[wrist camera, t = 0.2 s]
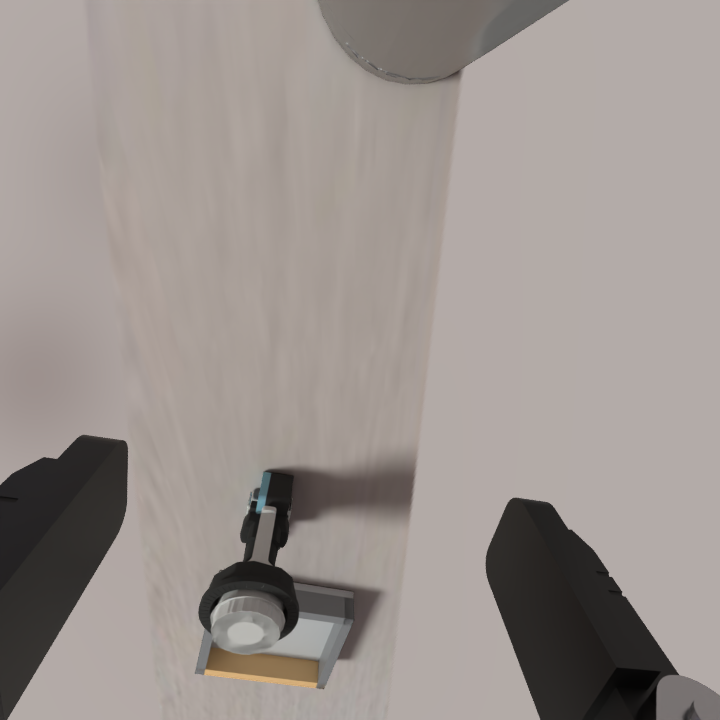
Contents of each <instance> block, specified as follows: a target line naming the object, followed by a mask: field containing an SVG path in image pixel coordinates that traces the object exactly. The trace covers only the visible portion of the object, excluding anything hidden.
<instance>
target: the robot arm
mask: <svg viewBox="0 0 720 720" xmlns="http://www.w3.org/2000/svg"><path fill="white" fill-rule="evenodd" d="M567 1H568V0H318V2H319V5H320V9H321V12H322V15H323V17H324V19H325V21H326V23H327V25H328V27H329V29H330V30H331V32H332V34H333V36H334V38H335V39H336V41H337V42H338V43H339V44H340V46H341V47H342V48H343V49H344V51H345V52H346V53H347V54H348V56H349V57H350V58H352V59H353V60H354V61H355V62H356V63H358V64H359V65H360V66H361V67H363V68H364V69H365V70H366V71H368V72H370V73H372V74H374V75H376V76H378V77H380V78H382V79H384V80H388V81H393V82H397V83H402V84H425V83H429V82H432V81H436V80H439V79H443V78H446V77H448V76H449V75H451V74H453V73H455V72H457V71H458V70H460V69H462V68H464V67H465V66H467V65H468V64H470V63H472V62H473V61H475V60H476V59H478V58H480V57H481V56H483V55H485V54H486V53H488V52H489V51H491V50H493V49H494V48H496V47H497V46H499V45H500V44H502V43H503V42H505V41H507V40H508V39H510V38H511V37H513V36H514V35H516V34H517V33H519V32H520V31H522V30H524V29H525V28H527V27H528V26H530V25H531V24H533V23H534V22H535V21H537V20H539V19H541V18H542V17H544V16H545V15H547V14H548V13H550V12H551V11H553V10H555V9H556V8H557V7H559V6H561V5H562V4H563V3H565V2H567ZM127 470H128V447H127V443H126V442H125V441H123V440H117V439H110V438H103V437H95V436H89V435H82V436H80V437H78V438H77V439H76V440H75V441H74V442H73V443H72V444H71V445H70V446H69V448H67V450H65V451H64V452H63V454H62V455H61V456H60V457H59V458H58V459H53V458H46V457H44V458H42V459H40V460H38V461H36V462H34V463H32V464H30V465H28V466H26V467H24V468H22V469H20V470H18V471H16V472H14V473H13V474H11V475H10V477H8V478H7V479H6V480H5V481H4V482H3V483H2V484H1V485H0V720H7V719H8V717H9V716H10V714H11V712H12V711H13V709H14V707H15V705H16V704H17V702H18V701H19V699H20V697H21V696H22V694H23V692H24V691H25V689H26V687H27V685H28V684H29V682H30V680H31V679H32V677H33V675H34V674H35V672H36V670H37V669H38V667H39V665H40V664H41V662H42V660H43V659H44V657H45V655H46V654H47V652H48V650H49V649H50V647H51V645H52V643H53V642H54V640H55V639H56V637H57V635H58V633H59V632H60V630H61V629H62V627H63V625H64V624H65V622H66V620H67V619H68V617H69V615H70V613H71V612H72V610H73V608H74V607H75V605H76V603H77V602H78V600H79V598H80V597H81V595H82V593H83V592H84V590H85V588H86V587H87V585H88V583H89V582H90V580H91V578H92V577H93V575H94V573H95V572H96V570H97V568H98V566H99V565H100V563H101V561H102V560H103V558H104V557H105V555H106V553H107V551H108V550H109V548H110V546H111V545H112V543H113V541H114V540H115V538H116V536H117V534H118V532H119V530H120V528H121V525H122V523H123V519H124V516H125V512H126V506H127V472H128V471H127ZM486 573H487V578H488V582H489V584H490V587H491V590H492V592H493V595H494V598H495V600H496V603H497V606H498V608H499V611H500V613H501V616H502V619H503V621H504V624H505V627H506V629H507V632H508V634H509V637H510V640H511V643H512V645H513V648H514V651H515V653H516V656H517V659H518V661H519V664H520V667H521V669H522V672H523V675H524V677H525V680H526V683H527V685H528V688H529V691H530V693H531V696H532V698H533V701H534V703H535V706H536V709H537V712H538V714H539V717H540V720H720V696H719V695H718V694H717V693H716V692H714V691H712V690H711V689H710V688H708V687H706V686H705V685H703V684H701V683H699V682H697V681H695V680H693V679H690V678H687V677H684V676H680V675H679V674H678V673H677V671H676V670H675V668H674V667H673V665H672V664H671V662H670V661H669V659H668V658H667V657H666V655H665V654H664V652H663V651H662V649H661V648H660V646H659V645H658V643H657V642H656V641H655V639H654V638H653V636H652V635H651V633H650V632H649V630H648V629H647V627H646V626H645V624H644V623H643V622H642V620H641V619H640V617H639V616H638V614H637V613H636V611H635V610H634V608H633V607H632V605H631V604H630V603H629V602H628V600H627V598H626V597H624V596H622V591H621V590H620V588H619V587H618V585H617V584H616V582H615V581H614V579H613V578H612V577H609V572H608V570H607V569H606V568H605V566H604V565H603V563H602V562H601V560H600V559H599V557H598V556H597V554H596V553H595V552H594V550H593V549H592V548H591V547H590V546H589V545H587V544H586V543H585V542H584V541H583V540H582V539H581V538H580V537H579V536H578V535H577V534H576V533H574V532H573V531H572V530H568V528H567V527H566V525H565V524H564V522H563V521H562V519H561V517H560V516H559V515H558V513H557V511H556V510H555V508H554V507H553V506H552V505H551V504H550V503H548V502H542V501H535V500H528V499H521V498H512V499H511V500H510V501H509V502H508V504H507V506H506V508H505V510H504V513H503V515H502V517H501V520H500V522H499V525H498V527H497V529H496V532H495V534H494V536H493V538H492V541H491V543H490V545H489V548H488V551H487V555H486Z"/></svg>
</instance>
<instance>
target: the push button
mask: <svg viewBox="0 0 720 720" xmlns="http://www.w3.org/2000/svg"><path fill="white" fill-rule="evenodd" d="M292 483H293V476H289V475H282V474H275V473H268V472H264V473H263V477H262V484H261V488H260V492H259V497H258V501H252V502H251V496H252V492H251V494H250V498H249V502H248V506H247V512H246V516H245V518H244V521H243V525H242V529H241V533H240V538H241V541H242V543H246V548H245V554H244V560H243V562H237V563H235V564H233V565H231V566H230V567H228V568H226V569H224V570H223V571H221V572H219V573H217V574H216V575H215V576H214V578H213V580H212V582H211V584H210V587H209V589H208V590H207V591H206V592H205V594H204V595H203V597H202V599H201V602H200V606H199V612H198V613H199V619H200V621H201V623H202V625H203V626H204V628H205V629H206V630H207V631H208V632H209V633H210V634H212V639H213V640H214V642H215V643H217V644H218V645H219V646H220V647H221V648H222V649H224V650H226V651H230V652H232V653H237V654H247V655H250V654H257V653H261V652H264V651H266V650H268V649H270V648H272V647H273V646H275V644H276V642H277V641H278V640H281V639H282V638H284V637H286V636H287V635H288V634H290V633H291V632H292V631H293V629H294V628H295V627H296V625H297V622H298V619H299V603H298V600H297V598H296V592H295V588H294V583H293V579H292V577H291V576H290V575H289V574H287V573H286V572H285V571H284V570H283V569H282V568H279V567H275V561H276V557H277V552H278V550H280V547H281V548H283V547H284V546H285V544H286V542H287V540H288V532H289V519H290V514H291V509H292V501H293V498H292V499H291V503H290V498H291V491H292ZM250 502H251V505H250ZM289 504H290V509H289ZM288 509H289V510H288Z"/></svg>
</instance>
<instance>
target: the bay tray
mask: <svg viewBox="0 0 720 720" xmlns="http://www.w3.org/2000/svg"><path fill="white" fill-rule="evenodd" d="M219 572H221V571H219ZM293 583H294V582H293ZM294 588H295V592H296V598H297V600H298V603H299V619H298V622H297V625H296V627H295V628H294V629H293V631H292V632H291V633H290V634H288V635H287V636H286V637H284V638H282V639H281V640H278V641H277V642H276V644H275V646H273V647H272V648H270V649H268V650H266V651H264V652H261V653H257V654H250V655H247V654H237V653H232V652H230V651H226V650H224V649H222V648H221V647H220V646H219V645H218V644H217V643H215V642H214V640H213V639H212V634H210V633H209V632H208V631H207V630H206V629H205V630H204V635H203V639H202V644H201V648H200V653H199V657H198V662H197V666H196V670H195V674H202V675H210V676H219V677H227V678H235V679H244V680H252V681H260V682H269V683H277V684H285V685H294V686H302V687H310V688H318V689H324V688H325V686H326V683H327V681H328V679H329V676H330V674H331V672H332V670H333V667H334V665H335V663H336V660H337V658H338V656H339V653H340V651H341V649H342V647H343V644H344V642H345V640H346V637H347V635H348V633H349V630H350V628H351V626H352V624H353V621H354V599H353V592H351V591H345V590H338V589H332V588H326V587H319V586H313V585H307V584H300V583H294Z"/></svg>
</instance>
